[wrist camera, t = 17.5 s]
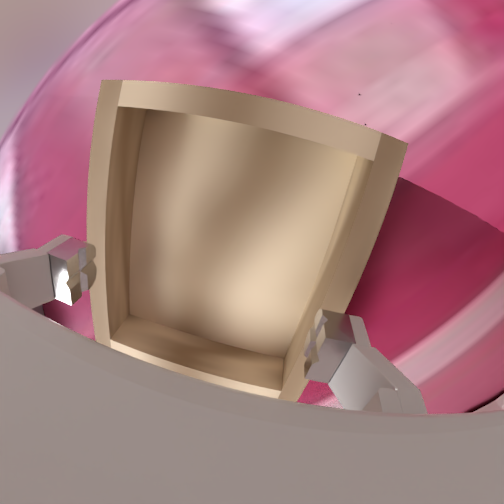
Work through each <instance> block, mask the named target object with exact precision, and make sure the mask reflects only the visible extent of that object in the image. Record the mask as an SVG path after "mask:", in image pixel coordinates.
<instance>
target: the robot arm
mask: <svg viewBox="0 0 504 504" xmlns="http://www.w3.org/2000/svg"><path fill="white" fill-rule="evenodd" d="M95 257H96V248H95V246H94V245H93V244H90V243H87V242H85V241H82V240H79V239H76V238H73V237H71V236H68V235H63V234H62V235H60V236H58V237H56V238H55V239H53V240H51V241H50V242H48V243H46V244H45V245H43V246H42V247H40V248H38V249H35V248H34V249H28V250H22V251H17V252H11V253H6V254H1V255H0V504H504V394H502V395H501V396H500V397H499V398H497V399H496V400H495V401H493V402H491V403H490V404H488V405H486V406H484V407H482V408H480V409H478V410H476V411H474V412H471V413H452V414H428V413H427V410H426V407H425V404H424V401H423V398H422V395H421V392H420V390H419V389H418V388H417V387H416V386H415V385H414V384H413V383H412V382H411V381H410V380H409V379H408V378H406V377H405V376H404V375H403V374H402V373H401V372H400V371H399V370H398V369H397V368H396V367H395V366H394V365H393V364H392V363H391V362H390V361H389V360H388V359H386V358H385V357H384V356H383V355H382V354H381V353H380V352H379V351H378V350H377V349H376V348H373V347H371V344H370V341H369V338H368V335H367V331H366V328H365V325H364V322H363V319H362V318H361V317H359V316H353V315H348V314H343V313H338V312H333V311H328V310H323V309H319V310H318V312H317V314H316V316H315V318H314V321H315V326H313V327H312V328H310V330H309V332H308V334H307V337H306V341H305V345H304V355H305V357H306V358H307V359H306V361H305V363H304V379H309V380H314V381H319V382H324V383H329V384H328V385H329V387H330V388H331V390H332V391H333V393H334V394H335V396H336V397H337V399H338V400H339V402H340V403H341V405H342V407H343V408H344V409H340V408H332V407H325V406H317V405H311V404H304V403H298V402H293V401H287V400H282V399H277V398H272V397H267V396H262V395H258V394H254V393H249V392H245V391H241V390H237V389H233V388H229V387H225V386H221V385H218V384H214V383H210V382H207V381H203V380H200V379H197V378H193V377H190V376H187V375H184V374H181V373H178V372H174V371H171V370H168V369H165V368H163V367H160V366H157V365H154V364H151V363H148V362H146V361H143V360H140V359H138V358H135V357H132V356H130V355H127V354H125V353H122V352H120V351H117V350H115V349H112V348H110V347H108V346H105V345H103V344H101V343H98V342H96V341H94V340H92V339H89V338H87V337H85V336H83V335H81V334H79V333H77V332H75V331H72V330H70V329H68V328H66V327H64V326H62V325H60V324H58V323H56V322H55V321H53V320H51V319H49V318H47V317H45V316H43V315H41V314H39V313H38V312H36V311H34V310H32V308H35V307H37V306H40V305H42V304H45V303H47V302H50V301H52V300H54V299H57V300H60V301H62V302H64V303H67V304H69V305H73V304H74V303H75V302H76V301H77V300H78V299H79V298H80V297H81V296H82V292H83V291H86V290H89V289H90V288H91V287H92V286H93V284H94V282H95V280H96V274H97V267H96V265H95V263H94V261H93V260H94V259H95Z"/></svg>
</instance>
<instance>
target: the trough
mask: <svg viewBox="0 0 504 504" xmlns="http://www.w3.org/2000/svg"><path fill="white" fill-rule="evenodd" d="M407 146H408V143H406V142H403V141H401V140H398V139H396V138H394V137H391V136H389V135H386V134H384V133H381V132H379V131H376V130H373V129H371V128H368V127H365V126H362V125H360V124H357V123H354V122H351V121H348V120H345V119H342V118H339V117H336V116H333V115H329V114H326V113H323V112H320V111H316V110H313V109H309V108H306V107H302V106H298V105H294V104H290V103H286V102H282V101H278V100H274V99H270V98H265V97H260V96H256V95H251V94H246V93H240V92H235V91H229V90H223V89H217V88H210V87H203V86H195V85H187V84H177V83H167V82H153V81H135V80H102V82H101V86H100V91H99V97H98V102H97V108H96V114H95V121H94V127H93V135H92V143H91V152H90V163H89V176H88V194H87V243H90V244H93V245H94V246H95V248H96V257H95V259H94V260H93V261H94V263H95V265H96V267H97V274H96V280H95V282H94V284H93V286H92V287H91V288H90V300H91V309H92V317H93V325H94V332H95V339H96V342H98V343H101V344H103V345H105V346H108V347H110V348H112V349H115V350H117V351H120V352H122V353H125V354H127V355H130V356H132V357H135V358H138V359H140V360H143V361H146V362H148V363H151V364H154V365H157V366H160V367H163V368H165V369H168V370H171V371H174V372H178V373H181V374H184V375H187V376H190V377H193V378H197V379H200V380H203V381H207V382H210V383H214V384H218V385H221V386H225V387H229V388H233V389H237V390H241V391H245V392H249V393H254V394H258V395H262V396H267V397H272V398H277V399H282V400H287V401H293V402H297V400H298V399H299V397H300V395H301V393H302V392H303V390H304V388H305V387H306V385H307V383H308V381H309V379H304V363H305V361H306V359H307V358H306V357H305V355H304V345H305V341H306V337H307V334H308V332H309V330H310V328H312V327H313V326H315V321H314V318H315V316H316V314H317V312H318V310H319V309H323V310H328V311H333V312H338V313H343V314H344V313H345V311H346V308H347V306H348V304H349V302H350V300H351V298H352V295H353V293H354V291H355V289H356V287H357V284H358V282H359V280H360V278H361V275H362V273H363V271H364V268H365V266H366V263H367V261H368V259H369V256H370V254H371V251H372V249H373V246H374V244H375V241H376V239H377V236H378V233H379V231H380V228H381V226H382V223H383V220H384V217H385V215H386V212H387V209H388V206H389V203H390V200H391V198H392V195H393V192H394V189H395V186H396V182H397V179H398V176H399V173H400V170H401V167H402V163H403V160H404V156H405V153H406V150H407Z"/></svg>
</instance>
